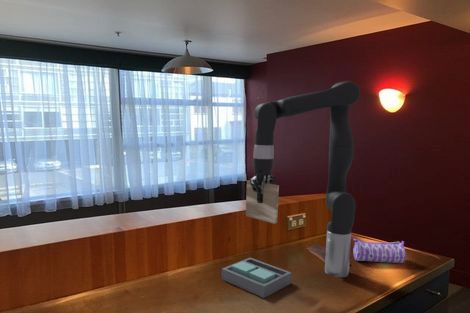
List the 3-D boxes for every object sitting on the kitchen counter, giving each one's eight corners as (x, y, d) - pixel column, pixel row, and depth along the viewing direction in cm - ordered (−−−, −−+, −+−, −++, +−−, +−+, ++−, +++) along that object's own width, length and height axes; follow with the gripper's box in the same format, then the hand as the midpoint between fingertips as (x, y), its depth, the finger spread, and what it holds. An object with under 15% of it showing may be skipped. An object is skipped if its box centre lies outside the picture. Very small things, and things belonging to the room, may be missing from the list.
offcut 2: (259, 281, 138) (259, 267, 138) (274, 287, 134) (275, 273, 133) (248, 286, 134) (249, 272, 133) (264, 292, 129) (264, 278, 129)
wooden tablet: (302, 244, 180) (321, 240, 183) (302, 248, 180) (321, 245, 183) (331, 266, 155) (352, 261, 157) (331, 271, 155) (352, 266, 158)
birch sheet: (248, 215, 148) (249, 180, 146) (277, 222, 139) (278, 185, 137) (245, 215, 147) (246, 180, 145) (274, 223, 137) (276, 186, 136)
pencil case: (399, 257, 169) (400, 237, 168) (408, 266, 159) (410, 244, 158) (350, 256, 168) (351, 236, 167) (356, 265, 159) (358, 243, 158)
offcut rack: (249, 269, 151) (250, 257, 150) (291, 286, 137) (291, 272, 137) (221, 282, 139) (221, 268, 139) (263, 301, 126) (264, 286, 125)
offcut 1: (242, 273, 144) (242, 261, 144) (256, 279, 139) (256, 266, 139) (231, 278, 140) (231, 265, 139) (245, 284, 135) (245, 271, 134)
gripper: (259, 159, 133) (258, 207, 134) (282, 156, 143) (280, 201, 144) (243, 157, 138) (242, 203, 139) (266, 154, 148) (264, 198, 149)
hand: (261, 202), depth 142 cm, fingers closed on birch sheet, 1 cm apart
